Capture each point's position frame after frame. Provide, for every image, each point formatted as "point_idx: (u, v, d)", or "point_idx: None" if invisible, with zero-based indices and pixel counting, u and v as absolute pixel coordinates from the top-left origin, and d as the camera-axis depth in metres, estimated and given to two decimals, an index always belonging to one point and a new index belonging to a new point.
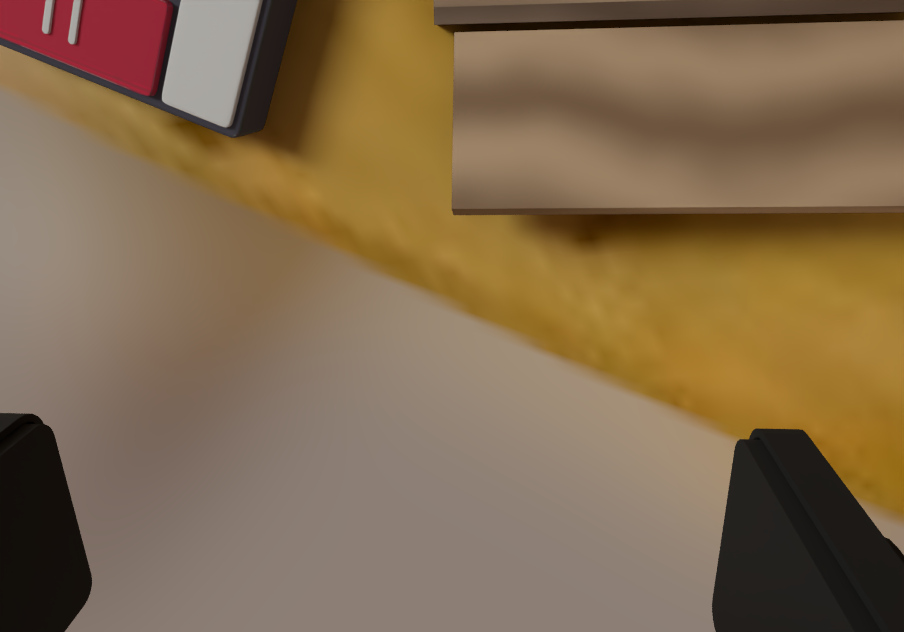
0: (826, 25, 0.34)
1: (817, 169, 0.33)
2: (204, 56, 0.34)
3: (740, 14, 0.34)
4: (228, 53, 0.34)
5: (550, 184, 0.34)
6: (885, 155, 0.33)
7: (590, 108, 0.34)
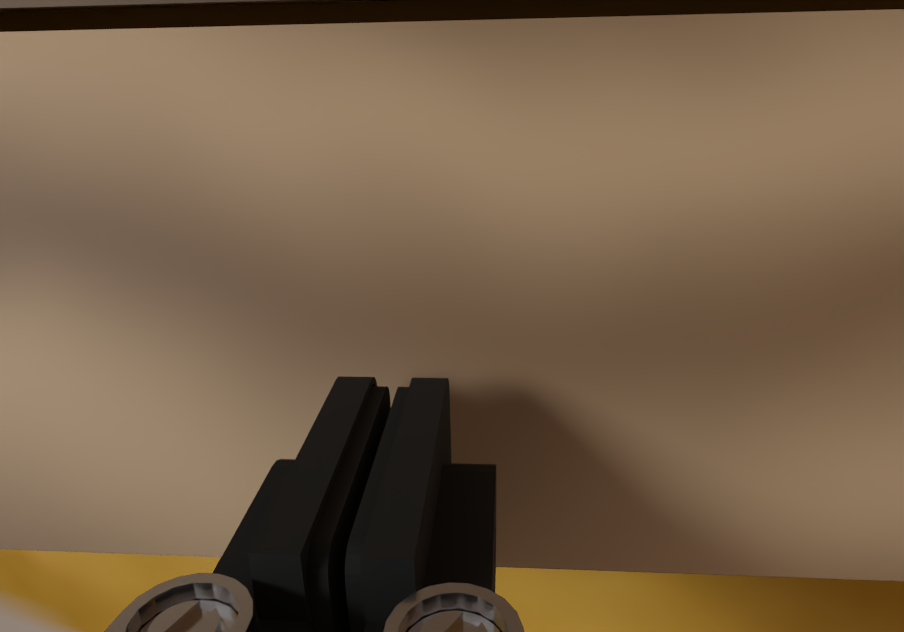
0: (829, 18, 0.11)
1: (798, 459, 0.11)
2: None
3: None
4: None
5: (32, 478, 0.12)
6: None
7: (155, 257, 0.12)
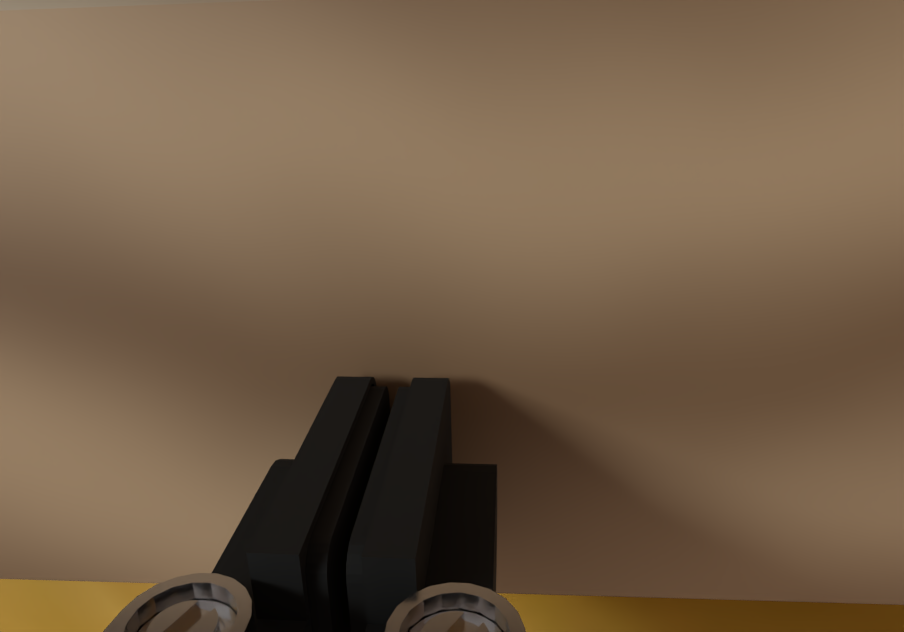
0: None
1: (777, 503, 0.11)
2: None
3: None
4: None
5: (9, 521, 0.12)
6: None
7: (76, 306, 0.10)
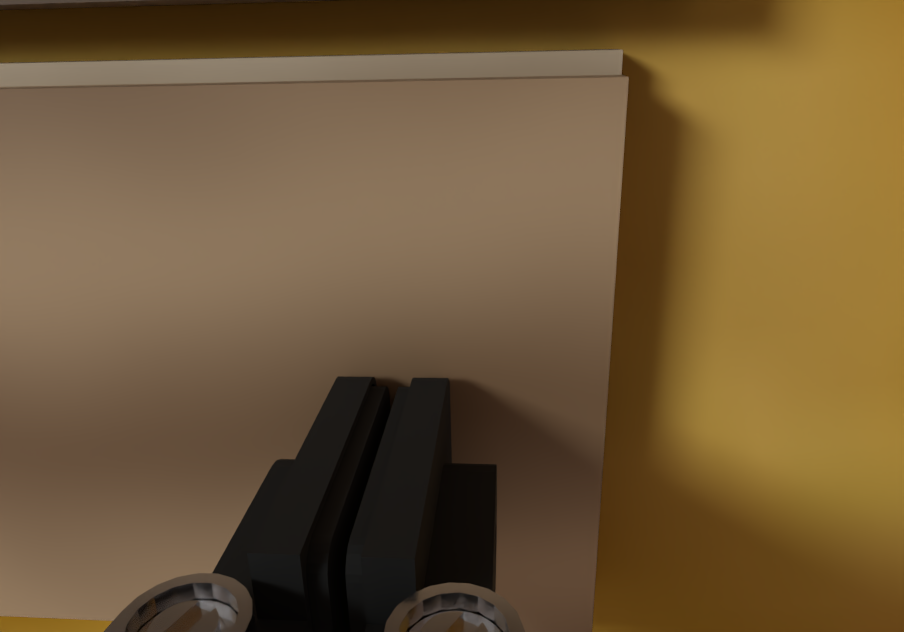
0: (293, 93, 0.09)
1: None
2: None
3: None
4: None
5: None
6: None
7: None
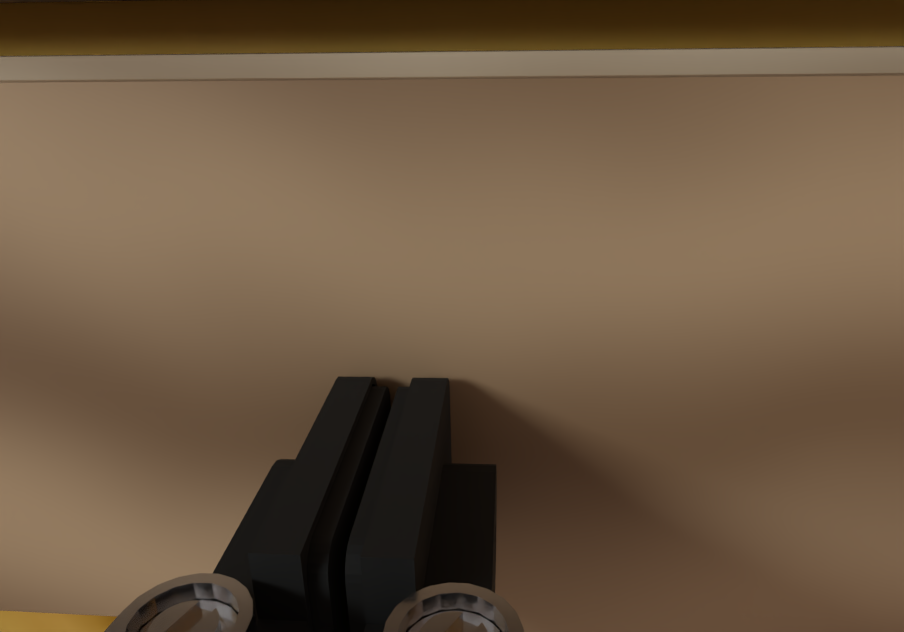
0: (808, 88, 0.08)
1: (683, 560, 0.11)
2: None
3: None
4: None
5: None
6: (895, 535, 0.11)
7: (2, 365, 0.11)
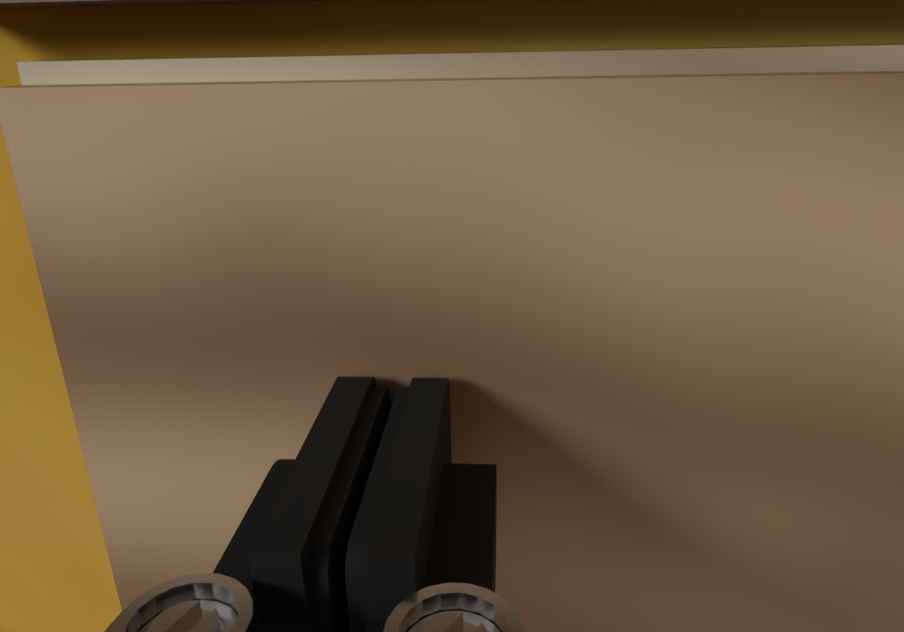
0: None
1: None
2: None
3: None
4: None
5: None
6: None
7: (501, 377, 0.10)
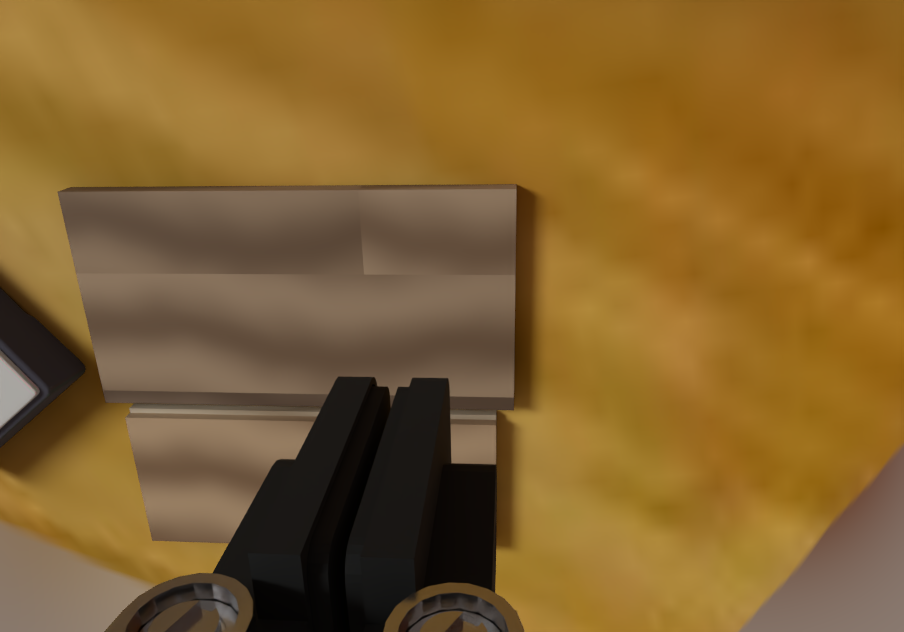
0: None
1: None
2: None
3: None
4: None
5: (221, 528, 0.44)
6: None
7: (243, 478, 0.43)
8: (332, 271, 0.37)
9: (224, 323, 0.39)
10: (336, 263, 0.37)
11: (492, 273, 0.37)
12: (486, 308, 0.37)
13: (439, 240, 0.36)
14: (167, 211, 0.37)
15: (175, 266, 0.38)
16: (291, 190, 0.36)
